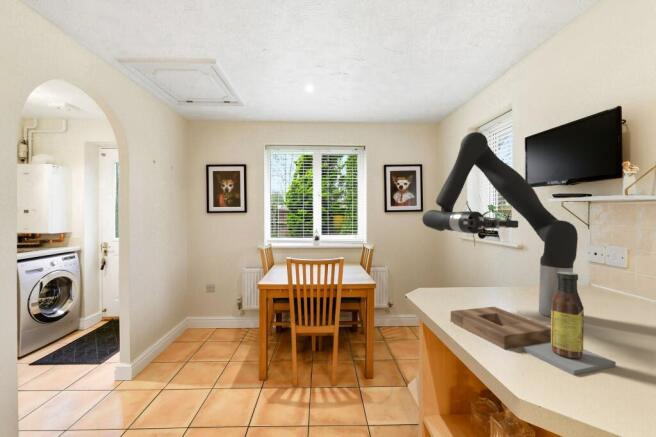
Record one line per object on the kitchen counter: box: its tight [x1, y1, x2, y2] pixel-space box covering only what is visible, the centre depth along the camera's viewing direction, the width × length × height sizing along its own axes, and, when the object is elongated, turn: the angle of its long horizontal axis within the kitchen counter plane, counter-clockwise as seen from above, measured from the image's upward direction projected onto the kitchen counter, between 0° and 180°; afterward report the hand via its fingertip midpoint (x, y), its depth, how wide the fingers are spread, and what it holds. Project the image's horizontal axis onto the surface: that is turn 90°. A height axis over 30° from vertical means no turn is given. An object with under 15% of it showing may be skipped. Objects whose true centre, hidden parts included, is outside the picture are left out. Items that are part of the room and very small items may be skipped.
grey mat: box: [522, 342, 617, 376], centre depth 74 cm, size 14×12×1 cm
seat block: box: [449, 306, 551, 350], centre depth 90 cm, size 18×20×4 cm
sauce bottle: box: [550, 272, 585, 359], centre depth 74 cm, size 7×6×20 cm
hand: (506, 224), depth 90 cm, fingers open, 8 cm apart
